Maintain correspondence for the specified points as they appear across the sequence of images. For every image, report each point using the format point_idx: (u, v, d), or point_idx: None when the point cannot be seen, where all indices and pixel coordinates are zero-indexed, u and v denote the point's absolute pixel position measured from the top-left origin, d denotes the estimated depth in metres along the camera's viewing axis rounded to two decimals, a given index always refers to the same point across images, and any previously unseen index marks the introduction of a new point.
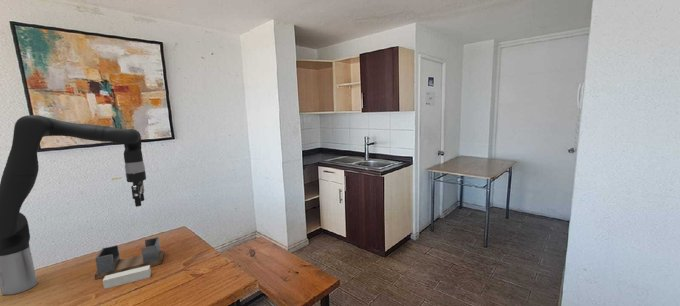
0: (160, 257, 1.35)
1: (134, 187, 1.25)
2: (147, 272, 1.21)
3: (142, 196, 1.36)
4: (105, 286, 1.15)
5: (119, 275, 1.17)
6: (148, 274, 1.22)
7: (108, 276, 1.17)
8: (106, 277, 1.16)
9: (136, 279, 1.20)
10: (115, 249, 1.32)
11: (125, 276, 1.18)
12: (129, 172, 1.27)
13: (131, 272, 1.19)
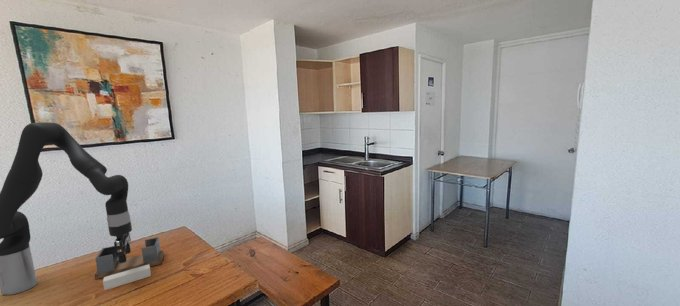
0: (160, 257, 1.35)
1: (117, 243, 1.11)
2: (148, 271, 1.22)
3: (128, 248, 1.22)
4: (105, 287, 1.14)
5: (119, 275, 1.17)
6: (149, 273, 1.23)
7: (107, 277, 1.16)
8: (106, 278, 1.15)
9: (137, 278, 1.20)
10: None
11: (125, 275, 1.18)
12: (112, 225, 1.12)
13: (131, 272, 1.20)
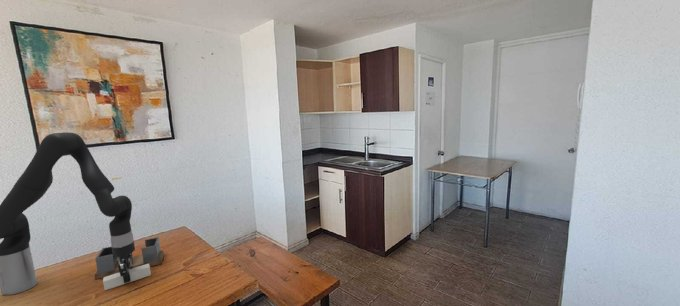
0: (160, 257, 1.35)
1: (121, 266, 1.13)
2: (148, 270, 1.23)
3: None
4: (106, 287, 1.14)
5: (119, 275, 1.17)
6: (149, 272, 1.23)
7: (107, 277, 1.16)
8: (105, 278, 1.15)
9: (137, 278, 1.20)
10: None
11: None
12: (115, 246, 1.14)
13: (131, 271, 1.20)
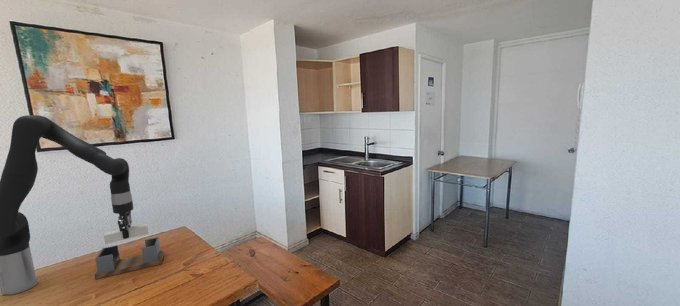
0: (160, 257, 1.35)
1: (121, 222, 1.22)
2: (145, 228, 1.32)
3: None
4: (106, 241, 1.23)
5: (119, 231, 1.27)
6: (146, 230, 1.32)
7: (108, 232, 1.25)
8: (106, 233, 1.25)
9: (135, 235, 1.30)
10: (115, 249, 1.32)
11: None
12: (115, 203, 1.23)
13: (130, 228, 1.29)
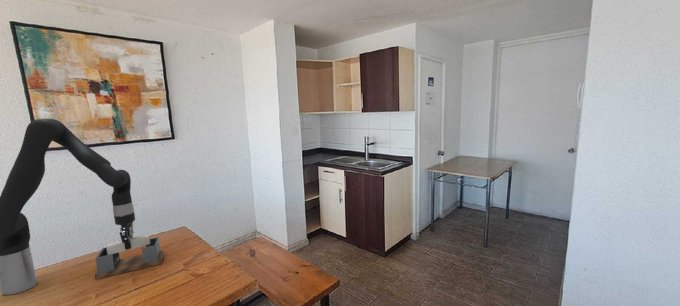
0: (160, 257, 1.35)
1: (123, 233, 1.23)
2: (147, 239, 1.33)
3: None
4: (108, 252, 1.24)
5: (121, 242, 1.28)
6: (148, 241, 1.33)
7: (110, 244, 1.26)
8: (108, 244, 1.26)
9: (137, 245, 1.31)
10: None
11: None
12: (117, 215, 1.24)
13: (132, 239, 1.30)
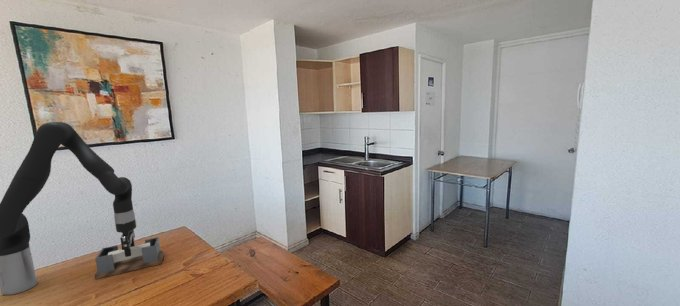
0: (160, 257, 1.35)
1: (123, 238, 1.23)
2: None
3: (132, 243, 1.34)
4: None
5: (122, 251, 1.28)
6: None
7: (111, 252, 1.27)
8: (110, 253, 1.27)
9: (138, 254, 1.31)
10: (115, 249, 1.32)
11: None
12: (118, 222, 1.25)
13: (133, 248, 1.31)
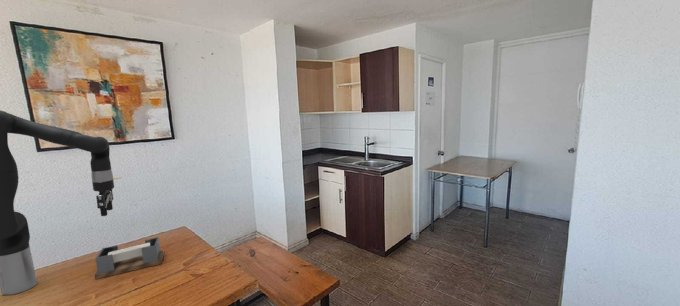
0: (160, 257, 1.35)
1: (99, 196, 1.23)
2: None
3: (110, 205, 1.34)
4: None
5: (122, 251, 1.28)
6: None
7: (111, 252, 1.27)
8: (110, 253, 1.27)
9: (138, 254, 1.31)
10: (115, 249, 1.32)
11: (128, 251, 1.29)
12: (95, 181, 1.24)
13: (133, 248, 1.31)
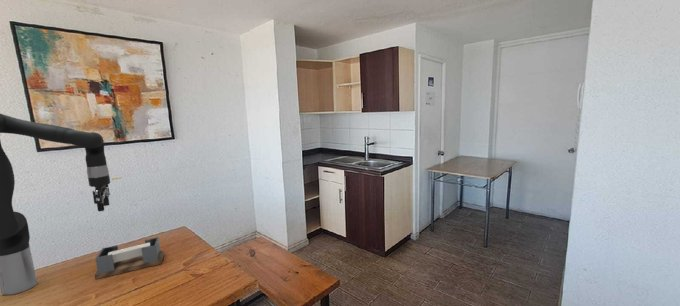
0: (160, 257, 1.35)
1: (96, 192, 1.23)
2: None
3: (107, 200, 1.34)
4: None
5: (122, 251, 1.28)
6: None
7: (111, 252, 1.27)
8: (110, 253, 1.27)
9: (138, 254, 1.31)
10: (115, 249, 1.32)
11: (128, 251, 1.29)
12: (91, 176, 1.24)
13: (133, 248, 1.31)
